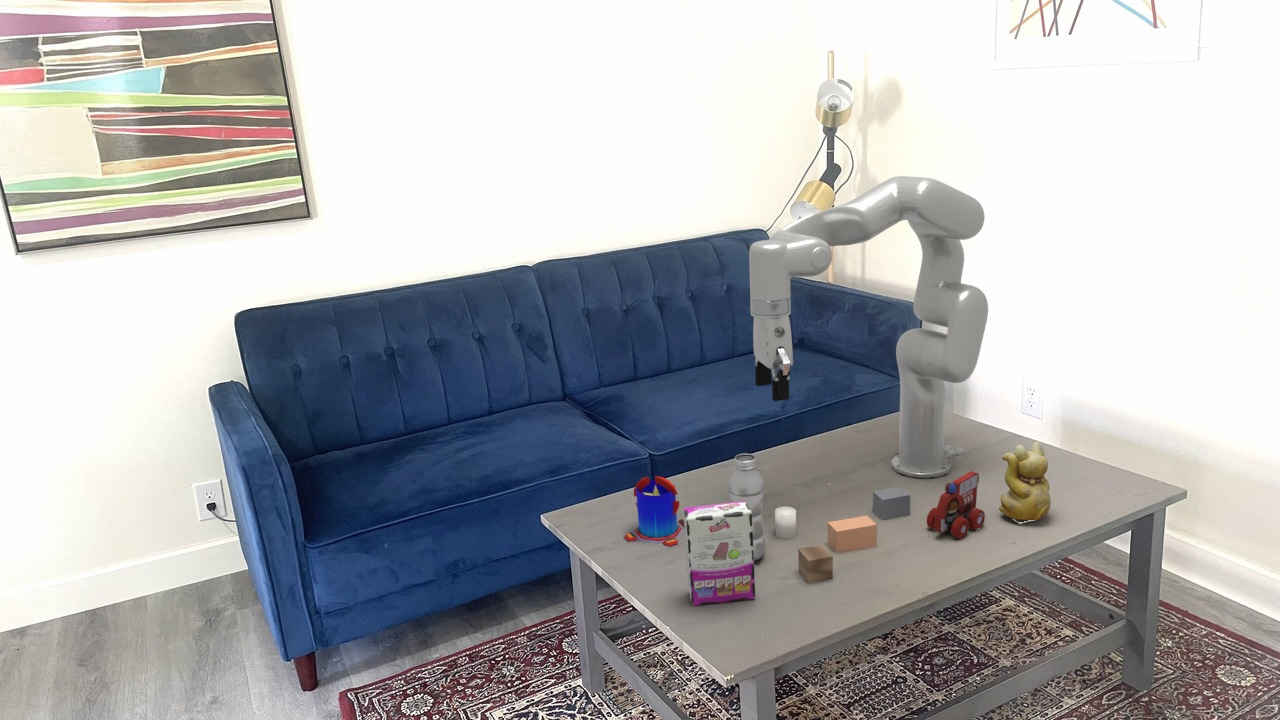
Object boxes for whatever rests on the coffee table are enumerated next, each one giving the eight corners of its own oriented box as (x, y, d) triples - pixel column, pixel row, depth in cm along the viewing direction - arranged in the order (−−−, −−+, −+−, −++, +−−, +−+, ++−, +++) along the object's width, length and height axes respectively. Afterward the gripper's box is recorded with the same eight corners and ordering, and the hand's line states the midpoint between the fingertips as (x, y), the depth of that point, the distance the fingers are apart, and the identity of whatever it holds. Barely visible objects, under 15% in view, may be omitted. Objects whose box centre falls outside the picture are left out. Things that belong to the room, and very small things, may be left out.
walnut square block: (821, 567, 166) (821, 544, 164) (832, 579, 161) (832, 556, 160) (798, 571, 165) (798, 548, 163) (808, 583, 160) (808, 560, 159)
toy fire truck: (919, 533, 176) (921, 483, 173) (958, 512, 183) (960, 464, 180) (951, 545, 170) (953, 494, 167) (989, 524, 177) (992, 474, 174)
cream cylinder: (791, 528, 181) (791, 505, 179) (799, 537, 177) (799, 513, 175) (772, 531, 180) (771, 508, 178) (780, 540, 176) (779, 517, 175)
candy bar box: (749, 585, 161) (747, 499, 156) (756, 600, 156) (753, 512, 152) (686, 591, 160) (682, 505, 156) (691, 607, 155) (686, 518, 151)
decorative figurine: (1028, 504, 184) (1032, 434, 180) (1062, 520, 177) (1067, 447, 173) (992, 516, 180) (995, 444, 176) (1025, 532, 173) (1030, 458, 169)
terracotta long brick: (866, 536, 176) (866, 515, 174) (876, 546, 172) (876, 524, 171) (827, 543, 174) (827, 522, 173) (837, 553, 170) (837, 531, 169)
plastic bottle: (728, 549, 174) (725, 451, 168) (764, 548, 173) (762, 449, 168) (730, 566, 168) (727, 465, 162) (768, 565, 167) (765, 463, 162)
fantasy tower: (619, 541, 180) (615, 485, 176) (641, 515, 190) (638, 461, 187) (676, 549, 175) (673, 491, 172) (695, 522, 186) (693, 467, 182)
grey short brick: (899, 507, 187) (900, 487, 185) (909, 515, 183) (910, 494, 182) (872, 512, 185) (873, 491, 184) (882, 520, 182) (882, 499, 180)
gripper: (806, 314, 166) (806, 403, 171) (773, 295, 182) (775, 377, 187) (766, 318, 165) (768, 408, 170) (737, 299, 181) (739, 381, 186)
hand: (771, 392), depth 178 cm, fingers open, 9 cm apart
